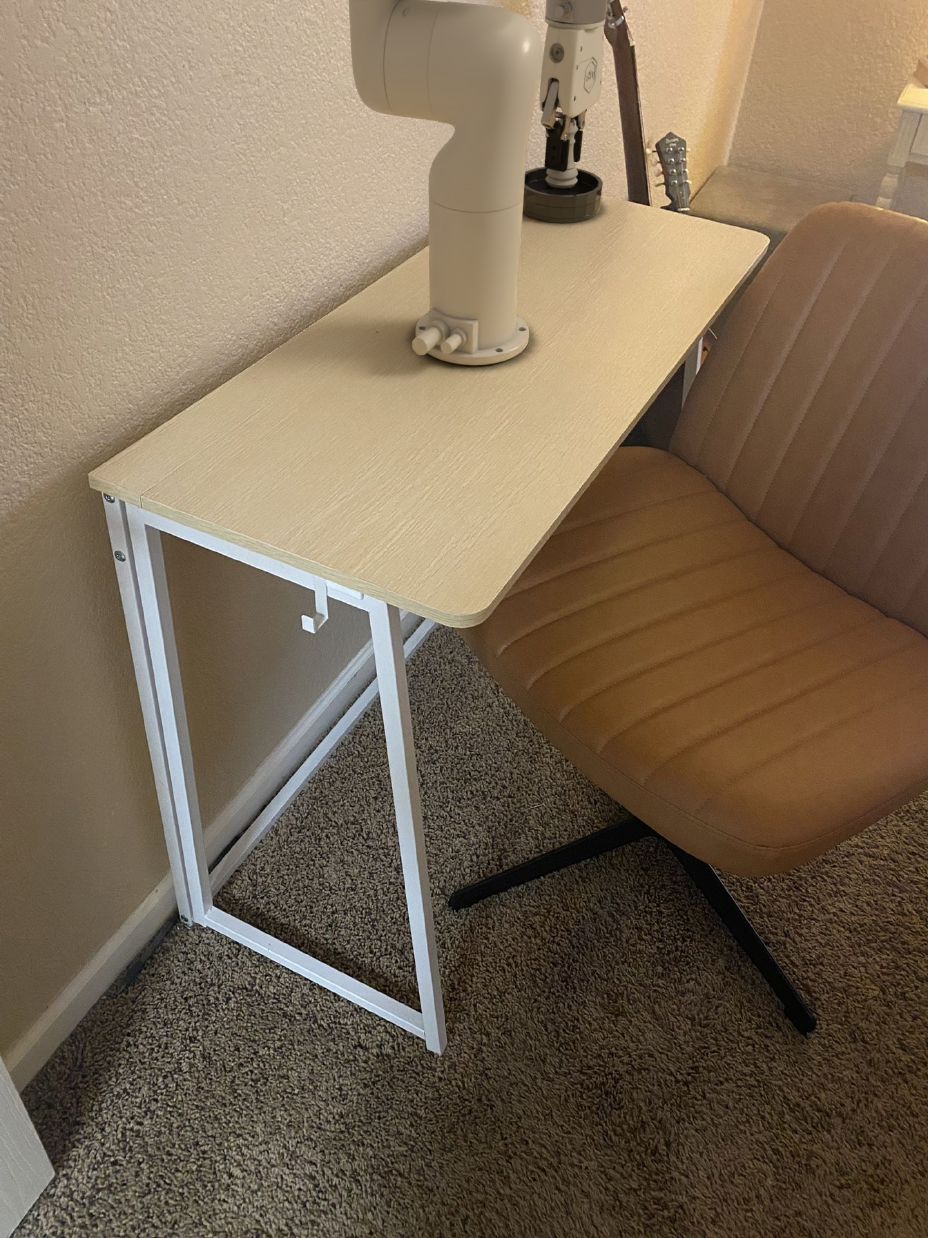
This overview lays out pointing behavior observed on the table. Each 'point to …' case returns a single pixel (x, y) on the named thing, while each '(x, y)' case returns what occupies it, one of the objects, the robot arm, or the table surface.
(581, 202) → the pan
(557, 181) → the rook chess piece
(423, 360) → the table surface
